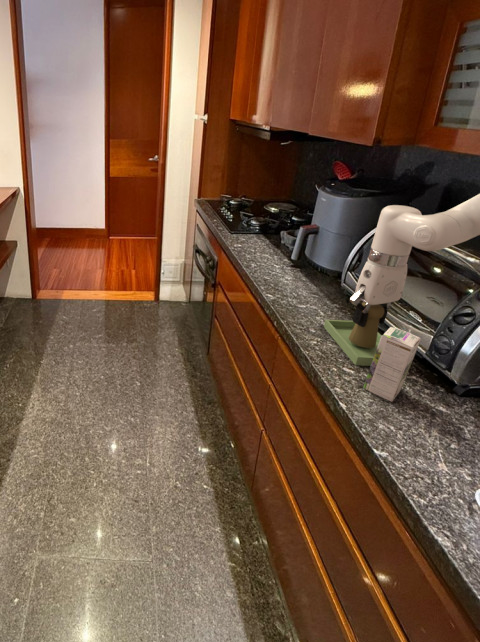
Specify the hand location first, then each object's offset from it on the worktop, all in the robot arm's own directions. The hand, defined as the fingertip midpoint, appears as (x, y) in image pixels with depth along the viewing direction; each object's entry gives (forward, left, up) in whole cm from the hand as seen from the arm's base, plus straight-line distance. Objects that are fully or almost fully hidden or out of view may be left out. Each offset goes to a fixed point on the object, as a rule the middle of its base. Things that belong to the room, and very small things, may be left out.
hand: (368, 321), depth 99 cm
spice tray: (0, 0, -7) cm, 7 cm away
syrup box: (-12, +13, -8) cm, 19 cm away
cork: (0, 0, -6) cm, 6 cm away
